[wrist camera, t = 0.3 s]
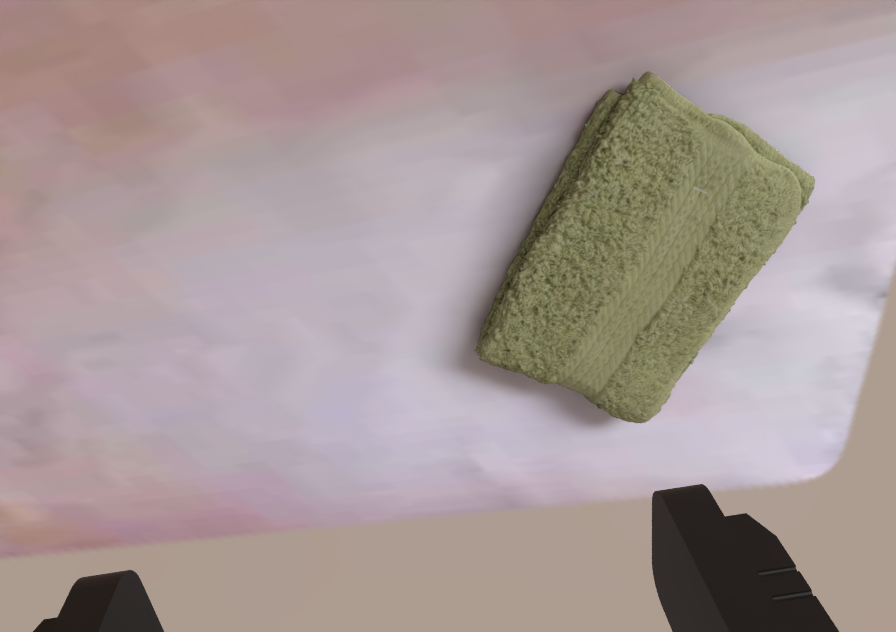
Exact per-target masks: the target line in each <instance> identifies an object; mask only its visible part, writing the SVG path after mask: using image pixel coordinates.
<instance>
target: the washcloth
mask: <svg viewBox="0 0 896 632" xmlns="http://www.w3.org/2000/svg"><path fill="white" fill-rule="evenodd" d="M814 184H815V179H814V177H813V176H811V175H810V174H809V173H807V172H806V171H804V170H803V169H801V168H800V167H799V166H797V165H795V164H793V163H792V162H790V161H789V160H788V159H787V158H785V157H784V156H783V155H782V154H780V153H779V152H778V151H777V150H776V149H775V148H774V147H772V146H771V145H770V144H768V142H767V141H765V140H763V139H762V138H760V137H759V136H758V135H757V134H756V133H754V132H753V131H752V130H750V129H749V128H748V127H747V126H745V125H744V124H740V123H738V122H736V121H734V120H732V119H729V118H727V117H725V116H720V115H715V114H707V113H705V112H704V111H703V110H701V109H700V108H698V107H697V106H696V105H694V104H693V103H691V102H690V101H688V100H687V99H685V98H684V97H682V96H681V95H680V94H678V93H677V92H676V91H675V90H674V89H672V87H671V86H669V85H668V84H667V83H666V82H665V81H664V80H662V79H661V78H660V77H659V76H657V75H656V74H653V73H651V72H646V73H644V74H643V75H642V76H641V78H640V79H639V81H638V80H636V79H635V78H633V79H632V82H631V83H630V84H629V86H628V88H627V89H626V93H625V95H621V94H619V93H617V92H614V91H613V90H611V89H610V90H608V92H607V93H606V94H605V95H604V97H603V99H602V100H601V101H597V102H596V108H595V109H594V112H593V114H592V116H591V117H590V119H589V120H588V123H587V124H585V129H584V130H583V131H582V134H581V137H580V138H579V142H578V143H577V145H576V148H575V149H574V150H573V151H571V152H570V155H569V156H568V158H567V161H566V163H565V165H564V167H563V170H562V172H561V175H560V176H559V179H558V180H557V183H556V184H555V185H554V190H553V191H551V192H550V194H549V195H548V196H547V198H546V200H545V203H544V204H543V206H542V208H541V211H540V214H538V215H537V218H536V220H534V223H533V227H532V228H531V232H530V234H529V235H528V238H527V239H526V240H525V241H524V242H523V243H522V245H521V247H520V253H519V255H518V256H517V257H516V258H515V261H513V263H512V264H511V265H510V268H509V270H508V271H507V274H508V278H507V279H506V280H505V282H504V283H502V288H501V290H500V291H499V292H498V294H497V296H496V298H495V302H494V304H493V308H492V310H491V312H490V313H489V316H488V317H487V318H486V319H485V321H484V325H483V327H482V329H481V337H480V340H479V341H478V345H477V347H476V349H475V350H474V351H476V352H477V354H478V355H480V360H484V361H485V362H487V363H490V364H491V365H496V366H499V367H500V368H504V369H506V370H511V371H513V372H519V373H524V374H526V376H527V377H528V378H529V377H531V378H534V379H535V380H538V381H539V382H540V383H544V384H548V383H557V384H559V385H561V386H564V387H567V388H569V389H571V390H575V391H577V392H579V393H582V394H583V395H584V396H585V397H586V398H587V399H588V400H589V401H590V402H592V403H594V404H596V405H597V406H598V408H600V409H603V408H604V410H605V411H606V412H608V413H609V414H610V415H611V416H613V417H616V418H620V419H622V420H624V421H627V422H634V423H644V422H647V421H648V420H650V419H651V418H652V417H653V416H655V415H656V414H658V413H659V412H660V410H661V407H662V405H663V404H664V403H666V402H667V400H668V398H669V397H670V395H671V391H672V389H673V388H674V386H675V384H676V382H677V381H678V380H679V378H680V377H681V375H682V374H683V373H684V372H685V371H686V369H687V368H688V366H689V365H690V364H692V363H693V361H694V358H695V357H696V356H697V355H698V351H699V350H700V349H701V348H702V347H703V345H704V344H705V343H706V342H707V341H708V340H709V339H710V338H711V336H712V334H713V333H714V330H715V328H716V327H717V326H718V325H719V324H720V322H721V321H722V320H723V319H724V318H725V316H726V315H727V313H728V312H729V311H730V309H731V307H732V306H733V305H734V304H735V301H736V299H737V298H738V297H739V295H740V294H741V293H742V291H743V290H744V289H745V288H747V286H748V284H749V282H750V281H751V280H752V279H753V277H754V276H755V275H756V274H757V273H758V272H759V271H760V269H761V268H762V266H763V265H765V262H766V261H768V259H769V258H770V257H771V255H772V254H774V253H775V252H776V249H777V248H778V247H779V246H780V244H781V243H782V242H783V240H784V239H785V237H786V236H787V235H788V233H789V231H790V230H791V228H792V226H793V225H795V224H796V219H797V217H798V215H799V214H800V212H801V211H802V210H803V208H804V206H805V205H806V204H807V203H809V200H808V199H809V197H810V196H811V194H812V191H813V189H814Z"/></svg>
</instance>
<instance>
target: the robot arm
mask: <svg viewBox="0 0 896 632" xmlns="http://www.w3.org/2000/svg"><path fill="white" fill-rule="evenodd" d="M652 568H653V575H654V580H655V585H656V589H657V593H658V596H659V599H660V602H661V604H662V607H663V610H664V612H665V614H666V617H667V619H668V622H669V624H670V626H671V629H672V631H673V632H839V631H838V629H837V628H836V626H835V625H834V623H833V622H832V620H831V619H830V617H829V615H828V614H827V612H826V611H825V609H824V608H823V606H822V605H821V604H820V602H819V600H818V599H817V597H816V596H813V594H812V590H811V588H810V587H809V585H808V584H807V582H806V581H805V579H804V578H803V576H802V574H801V573H800V572H799V571H798V572H797V570H796V565H795V564H794V562H793V561H792V559H791V558H790V556H789V555H788V553H787V552H786V550H785V549H784V547H783V546H782V544H781V543H780V541H779V540H778V538H777V536H775V535H774V534H773V533H771V532H770V531H769V530H768V529H766V528H765V527H764V526H762V525H761V524H760V523H758V522H757V521H756V520H754V519H753V518H752V517H750V516H749V515H748V514H746V513H745V514H739V515H732V516H726V517H725V516H724V515H723V513H722V511H721V510H720V508H719V506H718V505H717V503H716V501H715V500H714V498H713V496H712V494H711V493H710V491H709V490H708V488H707V487H706V486H705V485H703V484H699V485H693V486H686V487H680V488H673V489H667V490H660V491H655V492H654V493H653V497H652ZM33 632H164V631H163V629H162V626H161V624H160V622H159V620H158V617H157V615H156V613H155V611H154V608H153V606H152V604H151V602H150V600H149V597H148V595H147V593H146V591H145V589H144V586H143V584H142V582H141V580H140V578H139V576H138V575H137V573H135V572H134V571H132V570H128V571H121V572H114V573H108V574H101V575H95V576H88V577H82V578H80V579H78V580H77V581H76V582H75V584H74V585H73V587H72V589H71V590H70V593H69V595H68V597H67V599H66V601H65V603H64V605H63V607H62V609H61V611H60V614H59V616H58V617H57V618H51V619H44V620H43V621H42V622H41V624H39V626H38V627H37V628H36V629H35V630H34V631H33Z"/></svg>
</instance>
